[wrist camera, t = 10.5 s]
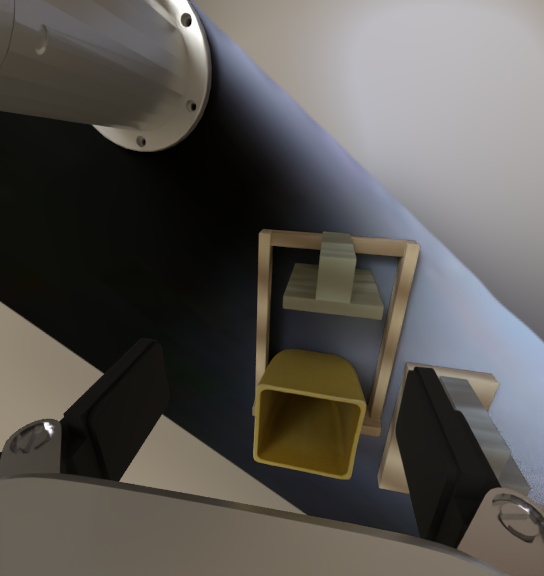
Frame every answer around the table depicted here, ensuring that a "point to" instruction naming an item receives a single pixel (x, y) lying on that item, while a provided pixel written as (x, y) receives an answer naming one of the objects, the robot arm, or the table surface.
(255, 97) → the table surface
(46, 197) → the table surface
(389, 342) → the wooden frame with block
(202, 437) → the table surface
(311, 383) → the flower pot
